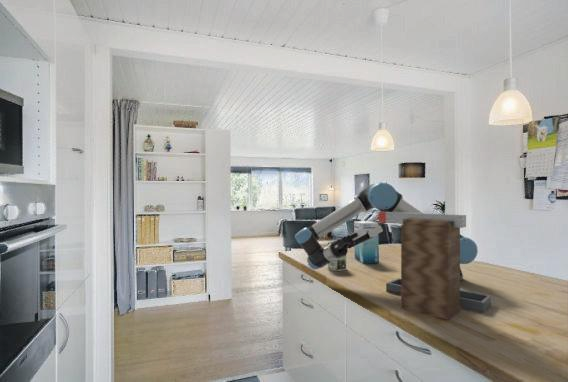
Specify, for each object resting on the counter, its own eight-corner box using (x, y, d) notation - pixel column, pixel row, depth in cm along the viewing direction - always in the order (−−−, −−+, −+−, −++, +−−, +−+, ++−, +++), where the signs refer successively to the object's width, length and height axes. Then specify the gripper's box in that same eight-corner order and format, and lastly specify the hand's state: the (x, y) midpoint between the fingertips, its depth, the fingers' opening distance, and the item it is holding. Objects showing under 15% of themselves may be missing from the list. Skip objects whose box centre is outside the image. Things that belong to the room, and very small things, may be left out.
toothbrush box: (353, 258, 211) (353, 220, 212) (369, 258, 212) (369, 220, 212) (362, 263, 194) (362, 222, 194) (379, 263, 194) (379, 222, 195)
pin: (378, 222, 129) (378, 212, 129) (383, 221, 132) (383, 211, 132) (462, 227, 108) (462, 215, 108) (466, 226, 111) (466, 215, 111)
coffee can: (346, 267, 184) (346, 242, 185) (346, 271, 174) (346, 244, 174) (328, 266, 186) (328, 241, 187) (326, 270, 176) (326, 244, 177)
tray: (386, 291, 138) (386, 283, 139) (397, 286, 146) (397, 278, 146) (483, 312, 113) (483, 302, 113) (491, 305, 121) (491, 295, 121)
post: (401, 308, 118) (401, 219, 118) (414, 300, 127) (414, 217, 127) (448, 320, 107) (448, 221, 107) (460, 310, 116) (459, 219, 116)
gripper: (354, 254, 153) (391, 235, 140) (321, 262, 135) (361, 240, 122) (347, 239, 156) (383, 219, 143) (314, 245, 138) (352, 222, 125)
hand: (373, 229), depth 133 cm, fingers open, 13 cm apart
